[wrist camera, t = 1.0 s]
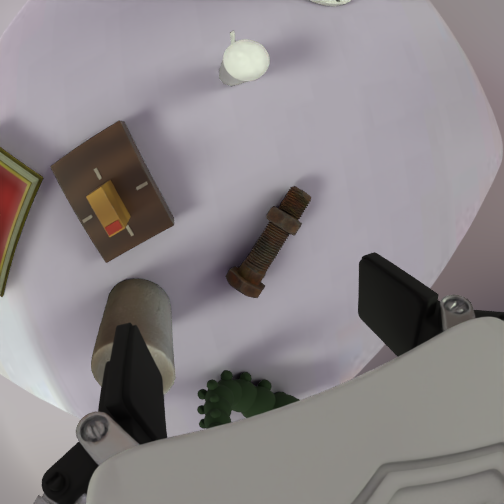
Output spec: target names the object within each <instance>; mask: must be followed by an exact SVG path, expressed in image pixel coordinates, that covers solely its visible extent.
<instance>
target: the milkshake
mask: <svg viewBox="0 0 504 504" xmlns="http://www.w3.org/2000/svg"><path fill="white" fill-rule="evenodd" d="M230 38H231V45H230V46H229V47H228V48H227V49H226V51H225V53H224V56H223V60H222V63H221V66H220V69H219V79H220V80H221V81H222V83H223V84H225V85H228V86H231V87H232V86H235V85H239V84H242V83H244V82H249V81H253V80H256V79H258V78H260V77H261V76H263V75H264V74H265V72H266V71H267V69H268V67H269V63H270V58H269V55H268V53H267V51H266V50H265V48H264V47H263V46H262V45H261V44H259V43H257V42H254V41H251V40H239V41H236V42H235V34H234V30H233V31H232V32H230Z"/></svg>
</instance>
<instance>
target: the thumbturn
mask: <svg viewBox="0 0 504 504" xmlns="http://www.w3.org/2000/svg"><path fill="white" fill-rule="evenodd" d="M86 198H87V200H88V201H89V203H90V205H91V207H92V208H93V210H94V212H95V214H96V215H97V217H98V219H99V220H100V222H101V224H102V225H103V227H104V229H105V230H106V232H107V234H108V235H109V237H111V236H113V235H115V234H116V233H118V232H120V231H121V230H123V229H125V227H126V225H127V223H128V221H129V219H130V217H131V216H130V214H129V212H128V211H127V209H126V207H125V205H124V204H123V202H122V200H121V198H120V196H119V195H118V193H117V191H116V189H115V187H114V185H113V184H112V182H111V180H109V181H107V182H106V183H104V184H103V185H101V186H99V187H98V188H96V189H95V190H94V191H93V192H91V193H90V194H89V195H87V196H86Z"/></svg>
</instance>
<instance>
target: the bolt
mask: <svg viewBox="0 0 504 504" xmlns="http://www.w3.org/2000/svg"><path fill="white" fill-rule="evenodd" d="M285 197H286V198H284V200H283V202H281V204H280V207H279V208H277V207H275V206H273V207H272V208H271V209H270V211H269V212H268V214H267V216H266V218H267V219H268V220H269V221H271V222H269V224H267V225H268V226H266V228H265V231H263V232H264V233H262V235H261V237H259V239H258V241H257V244H255V245H256V246H254V248H252V249H253V250H251V252H250V254H249V255H248V256H247V258H246V259H245V261H243V263H242V265H241V266H240V268H238V267H236V266H234V267H233V268H231V269H230V270H229V271H228V273H227V275H226V279H227V281H228V283H229V284H230V285H231V286H232V287H234V288H235V289H236V290H238V291H239V292H241V293H242V294H244V295H246V296H248V297H253V298H258V296H259V295H260V293H261V292H262V290H263V289H264V287H265V285H264V284H263V283H261V281H262V279H263V277H264V276H265V273H266V271H267V269H268V267H270V265H271V263H272V262H273V260H274V258H276V257H275V256H277V254H278V252H279V250H281V248H282V245H283V243H285V242H284V241H286V239H288V238H287V237H288V236H289V235H288V234H292V235H295V234H296V233H297V231H298V229H299V228H300V226H301V225H302V223H301V222H299V220H298V219H300V217H301V215H302V213H303V212H304V211H303V210H305V208H307V207H306V206H308V204H309V202H310V201H311V200H310V199H311V196H309V195H308V194H307V193H306V192H304V191H303V190H300V189H299V188H297V187H296V186H294V187H291V189H289V191H288V193H287V196H285Z"/></svg>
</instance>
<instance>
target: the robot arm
mask: <svg viewBox="0 0 504 504" xmlns="http://www.w3.org/2000/svg"><path fill="white" fill-rule="evenodd" d="M309 1H312V2H315V3H317V4H321V5H325V6H340V5H344V4H346V3H348V2H350V1H351V0H309ZM358 314H359V317H360V318H361V320H362V321H363V322H364V323H365V324H366V325H367V326H368V327H369V328H370V329H371V330H372V331H373V332H374V333H375V334H376V335H377V336H378V337H379V338H380V339H381V340H382V341H383V342H384V343H385V344H386V345H387V346H388V347H389V348H390V349H391V350H392V351H393V352H394V353H395V354H396V355H397V356H398V357H397V358H395V359H393V360H391V361H389V362H387V363H385V364H383V365H381V366H379V367H377V368H375V369H373V370H371V371H368V372H366V373H364V374H362V375H360V376H358V377H355V378H353V379H351V380H349V381H347V382H344V383H342V384H340V385H337V386H335V387H333V388H330V389H328V390H325V391H323V392H320V393H318V394H315V395H313V396H310V397H308V398H305V399H302V400H300V401H297V402H294V403H291V404H288V405H286V406H283V407H280V408H277V409H274V410H271V411H268V412H265V413H262V414H258V415H255V416H252V417H249V418H245V419H242V420H238V421H235V422H231V423H227V424H223V425H220V426H216V427H212V428H208V429H204V430H200V431H196V432H192V433H187V434H183V435H178V436H174V437H169V438H167V432H166V421H165V408H164V393H163V379H162V375H161V373H160V371H159V369H158V367H157V365H156V363H155V361H154V359H153V357H152V355H151V353H150V351H149V349H148V347H147V345H146V343H145V341H144V339H143V337H142V335H141V333H140V330H139V328H138V326H137V325H132V324H131V323H125V324H121V325H117V327H116V331H115V336H114V341H113V346H112V352H111V357H110V361H107V362H106V364H105V369H104V375H103V381H102V388H101V394H100V401H99V409H98V412H92V413H89V414H87V415H86V416H84V417H83V418H82V419H81V420H80V422H79V423H78V425H77V428H76V436H77V438H78V440H79V442H78V443H77V444H76V445H75V446H74V447H72V448H71V449H70V450H69V451H68V452H67V453H66V454H65V455H64V456H63V457H62V458H61V459H60V460H58V461H57V462H56V463H55V464H54V465H53V466H52V467H51V468H50V469H49V470H47V472H46V473H45V474H44V476H43V479H42V489H43V491H44V494H43V496H42V497H41V496H39V495H38V497H37V498H36V500H35V502H34V504H504V312H494V311H493V312H492V311H481V310H473V306H472V304H471V302H470V301H469V300H468V299H466V298H465V297H462V296H459V295H449V296H445V297H444V298H443V299H442V300H441V302H440V301H438V294H437V293H436V292H434V291H433V290H431V289H430V288H428V287H427V286H425V285H424V284H423V283H421V282H420V281H418V280H417V279H415V278H414V277H412V276H411V275H409V274H408V273H406V272H405V271H403V270H402V269H400V268H399V267H397V266H396V265H394V264H393V263H391V262H390V261H388V260H387V259H385V258H383V257H382V256H380V255H379V254H377V253H375V252H374V253H371V254H368V255H365V256H363V257H362V260H361V261H360V262H359V299H358Z"/></svg>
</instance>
